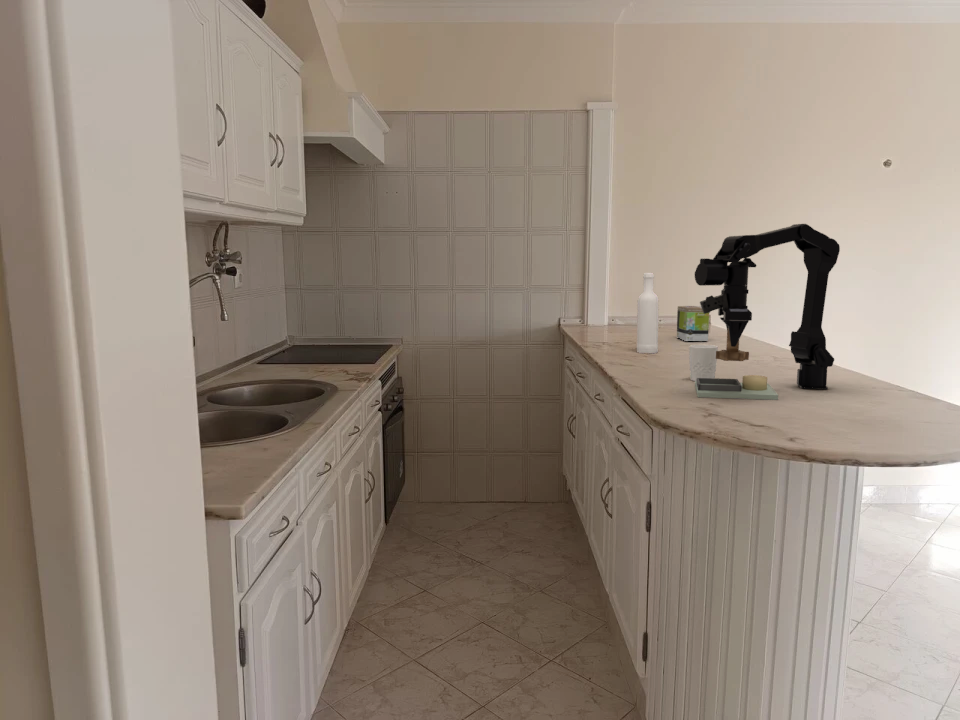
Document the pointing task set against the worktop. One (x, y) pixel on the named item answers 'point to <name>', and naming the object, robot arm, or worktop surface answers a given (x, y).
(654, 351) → the bottle
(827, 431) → the worktop surface
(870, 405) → the worktop surface
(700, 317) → the tea box
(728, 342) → the planet gear
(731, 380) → the carrier plate
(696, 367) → the white cup
